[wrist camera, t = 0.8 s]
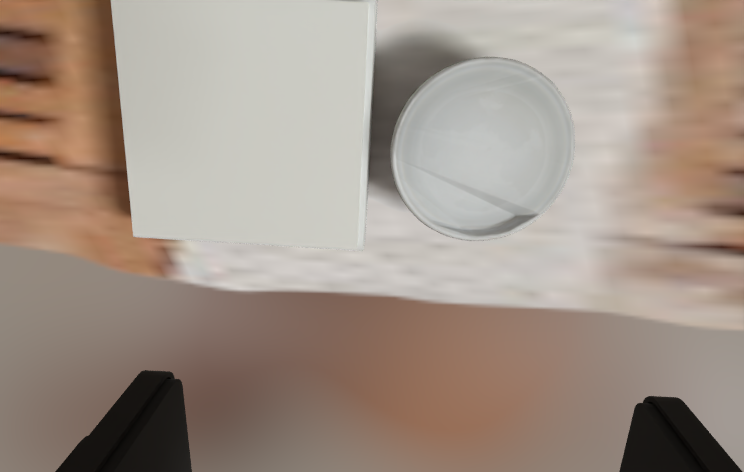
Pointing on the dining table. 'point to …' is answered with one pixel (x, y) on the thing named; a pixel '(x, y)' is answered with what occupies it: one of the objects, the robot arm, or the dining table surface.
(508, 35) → the dining table surface
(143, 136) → the stand
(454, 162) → the ramekin
